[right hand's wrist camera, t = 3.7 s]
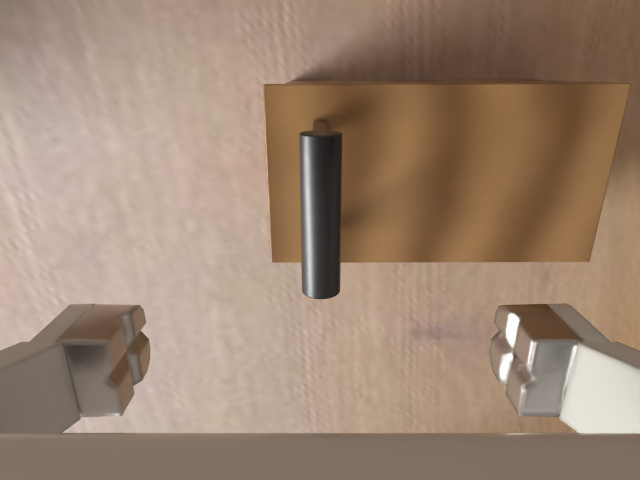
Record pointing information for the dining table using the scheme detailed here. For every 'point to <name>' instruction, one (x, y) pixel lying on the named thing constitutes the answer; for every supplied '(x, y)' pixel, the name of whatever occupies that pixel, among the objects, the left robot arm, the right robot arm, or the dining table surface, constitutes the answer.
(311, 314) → the dining table surface
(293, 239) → the lid
